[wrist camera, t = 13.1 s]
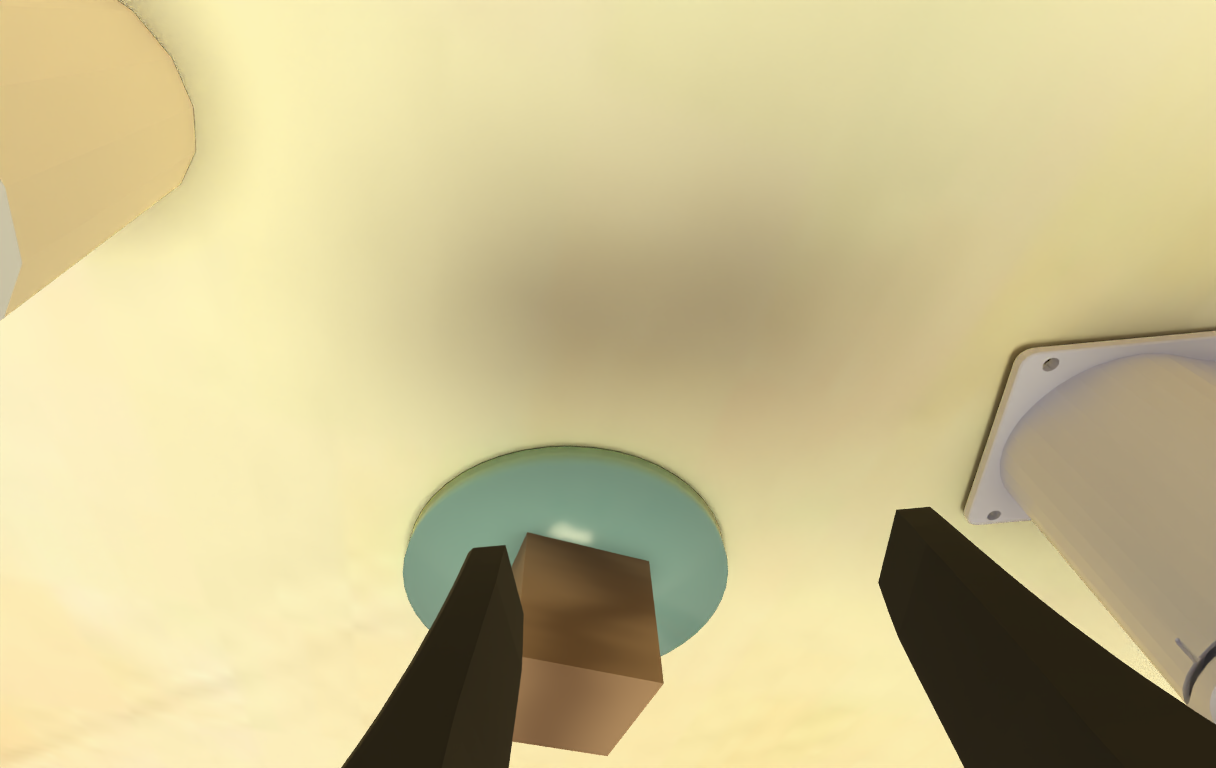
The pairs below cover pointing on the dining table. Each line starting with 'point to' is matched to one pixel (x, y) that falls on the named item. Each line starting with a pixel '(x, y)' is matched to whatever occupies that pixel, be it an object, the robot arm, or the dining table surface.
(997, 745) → the robot arm
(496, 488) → the teal dish
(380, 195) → the dining table surface
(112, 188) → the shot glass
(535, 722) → the walnut block
